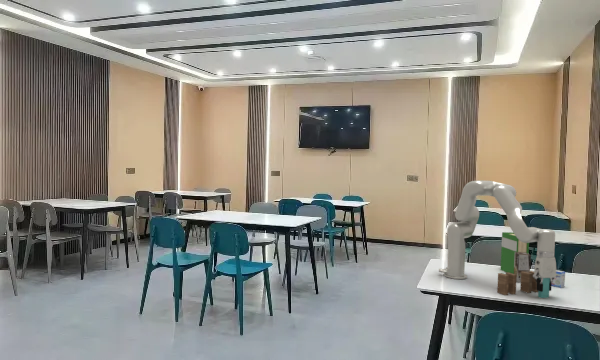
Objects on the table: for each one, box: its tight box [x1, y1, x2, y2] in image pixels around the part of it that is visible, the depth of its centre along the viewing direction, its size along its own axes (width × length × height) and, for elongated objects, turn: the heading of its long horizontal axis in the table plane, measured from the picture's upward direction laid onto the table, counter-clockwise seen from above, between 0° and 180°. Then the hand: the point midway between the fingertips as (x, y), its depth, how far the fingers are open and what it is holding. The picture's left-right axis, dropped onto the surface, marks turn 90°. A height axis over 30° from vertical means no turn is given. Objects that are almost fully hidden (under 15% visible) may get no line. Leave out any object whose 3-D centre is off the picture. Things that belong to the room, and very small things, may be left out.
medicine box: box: [551, 269, 566, 289], centre depth 244 cm, size 8×4×9 cm, turn 36°
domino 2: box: [505, 272, 517, 295], centre depth 226 cm, size 2×5×10 cm, turn 21°
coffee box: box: [514, 252, 532, 284], centre depth 251 cm, size 9×6×16 cm
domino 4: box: [529, 270, 538, 293], centre depth 231 cm, size 2×5×10 cm, turn 20°
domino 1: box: [496, 272, 509, 296], centre depth 224 cm, size 2×5×10 cm, turn 21°
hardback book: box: [500, 231, 530, 274], centre depth 271 cm, size 18×7×24 cm, turn 3°
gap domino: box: [537, 278, 550, 299], centre depth 220 cm, size 2×5×10 cm, turn 111°
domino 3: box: [519, 271, 532, 294], centre depth 229 cm, size 2×5×10 cm, turn 20°
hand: (543, 290), depth 220 cm, fingers closed on gap domino, 4 cm apart
